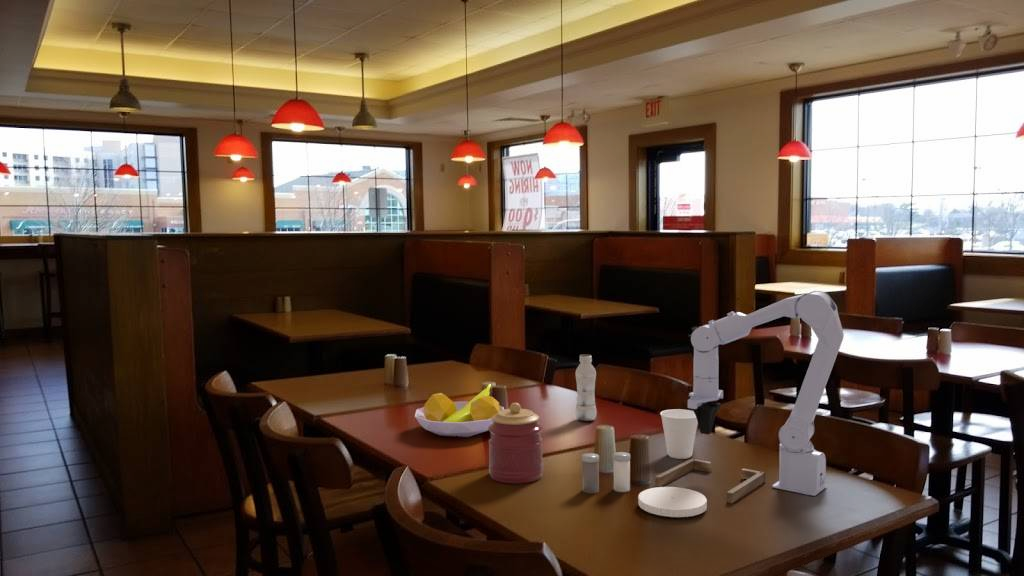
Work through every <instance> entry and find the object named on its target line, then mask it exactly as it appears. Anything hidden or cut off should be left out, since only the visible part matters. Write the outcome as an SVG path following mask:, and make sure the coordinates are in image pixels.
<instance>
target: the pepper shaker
mask: <svg viewBox="0 0 1024 576" xmlns="http://www.w3.org/2000/svg"><path fill="white" fill-rule="evenodd" d="M581 460H582V492H583V493H586V494H592V495H593V494H597V493H599V492H600V487H599V486H600V480H599V479H600V478H599V477H600V473H599V472H600V464H599V463H600V455H599V454H597V453H593V452H592V453H591V452H590V453H589V452H587V453H583V454H581Z"/></svg>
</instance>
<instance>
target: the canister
mask: <svg viewBox="0 0 1024 576" xmlns="http://www.w3.org/2000/svg"><path fill="white" fill-rule="evenodd" d="M492 420H493V423H492V424H491V425H489V427H488V432H490V438H489V439H488V447H489V448H488V452H489V453H488V455H489V456H488V457H489V459H488V460H489V461H488V462H489V465H488V473H489V477H490V478H491V479H492V480H493V481H496V482H498V483H504V484H515V485H516V484H527V483H532V482H535V481H537V480H538V481H539V480H540V479H541V478H542V477H543V472H544V463H543V443H544V440H543V438H542V435H541V432H542V431H543V429H544V427H543V425H542V424H541V423H540V422H539V420H540V416H539V415H538V414H537V413H534V412H533V411H532V410H530V409H525V408H522V407H521V404H520V403H518V402H512V403H511V404H510V406H509V408H506V409H505V408H504V410H501V411H499V412H498V413H497V414H495V415H493V416H492Z"/></svg>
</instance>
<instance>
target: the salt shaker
mask: <svg viewBox="0 0 1024 576" xmlns="http://www.w3.org/2000/svg"><path fill="white" fill-rule="evenodd" d="M612 459H613V491H615V492H617V493H627V492H630V491H631V453H629V452H627V451H626V452H625V451H618V452H617V451H615V452H614V453H613V455H612Z"/></svg>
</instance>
